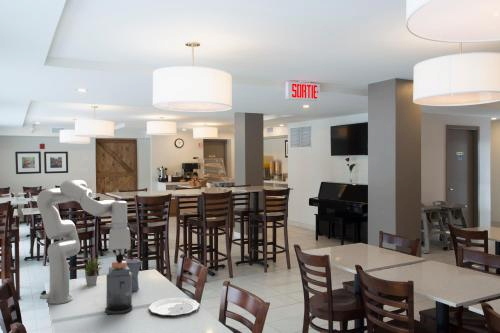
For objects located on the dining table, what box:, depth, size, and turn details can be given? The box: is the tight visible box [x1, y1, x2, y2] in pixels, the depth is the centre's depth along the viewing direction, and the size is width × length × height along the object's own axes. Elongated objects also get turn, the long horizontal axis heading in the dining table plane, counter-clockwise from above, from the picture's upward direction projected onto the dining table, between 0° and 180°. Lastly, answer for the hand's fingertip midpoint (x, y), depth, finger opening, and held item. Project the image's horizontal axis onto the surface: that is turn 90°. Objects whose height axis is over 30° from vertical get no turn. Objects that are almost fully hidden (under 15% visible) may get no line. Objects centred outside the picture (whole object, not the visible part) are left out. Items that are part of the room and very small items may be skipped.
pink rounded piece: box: [111, 261, 127, 269], centre depth 208 cm, size 7×7×6 cm
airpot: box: [105, 266, 134, 316], centre depth 208 cm, size 13×19×21 cm
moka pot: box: [123, 255, 143, 294], centre depth 240 cm, size 10×15×20 cm, turn 78°
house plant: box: [81, 257, 103, 287], centre depth 249 cm, size 14×14×16 cm
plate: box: [148, 297, 201, 317], centre depth 211 cm, size 25×25×2 cm
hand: (119, 262), depth 208 cm, fingers closed
